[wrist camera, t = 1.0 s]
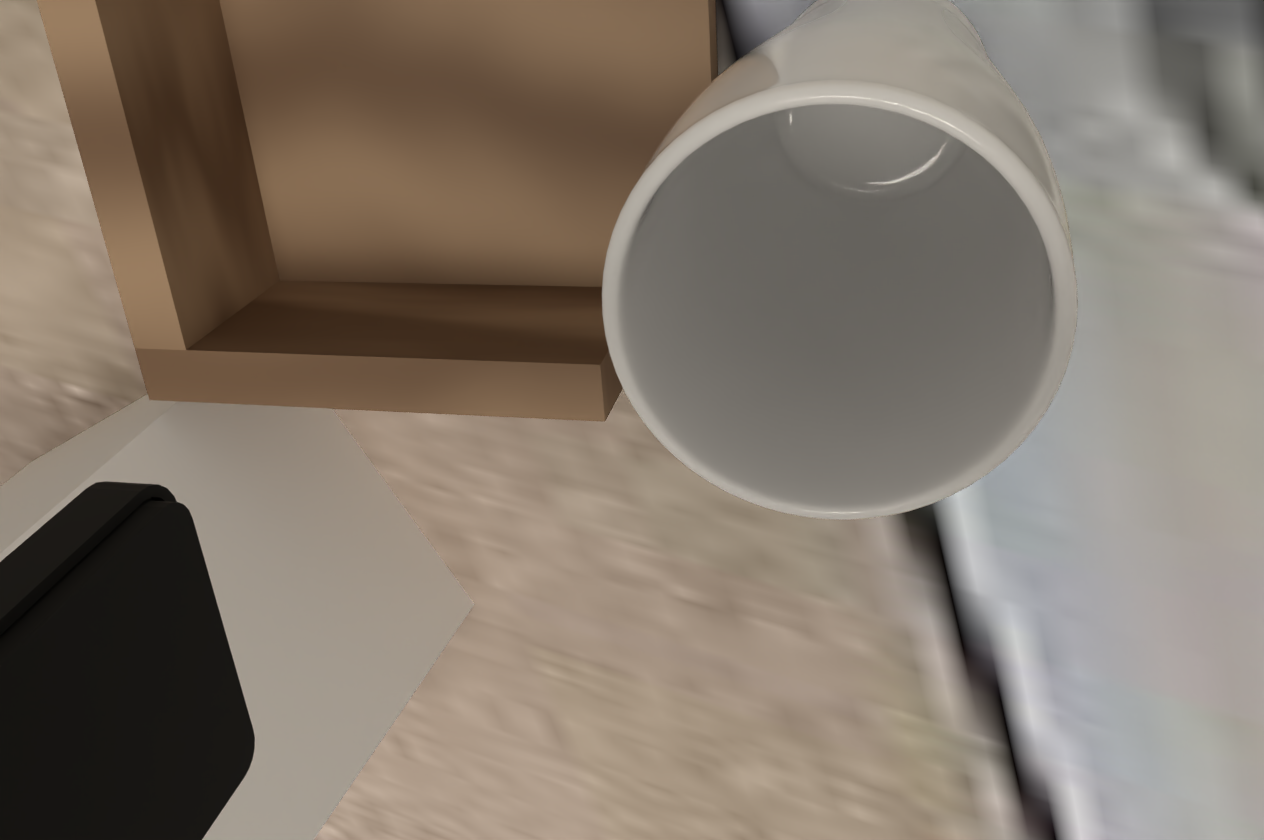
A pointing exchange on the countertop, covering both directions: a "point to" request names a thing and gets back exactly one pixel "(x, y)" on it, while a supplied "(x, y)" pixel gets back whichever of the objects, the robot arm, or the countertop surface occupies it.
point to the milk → (279, 582)
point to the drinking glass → (846, 268)
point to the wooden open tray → (373, 189)
